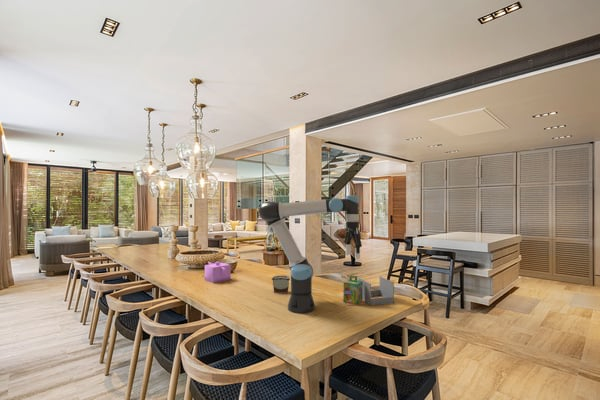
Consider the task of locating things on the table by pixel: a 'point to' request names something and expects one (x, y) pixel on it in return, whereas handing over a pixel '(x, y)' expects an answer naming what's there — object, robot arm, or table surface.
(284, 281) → the food container
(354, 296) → the green juice carton
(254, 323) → the table surface
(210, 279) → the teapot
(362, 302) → the mat
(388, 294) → the grey open holder
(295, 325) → the table surface
